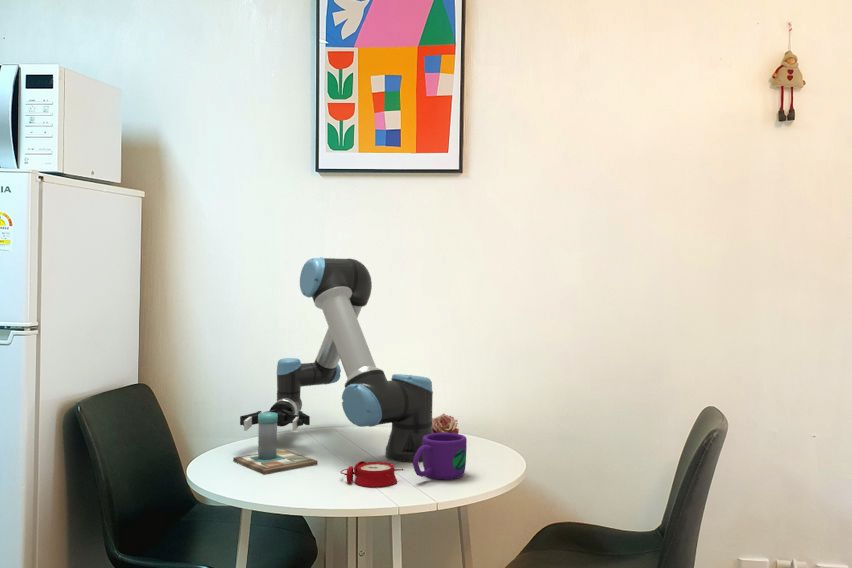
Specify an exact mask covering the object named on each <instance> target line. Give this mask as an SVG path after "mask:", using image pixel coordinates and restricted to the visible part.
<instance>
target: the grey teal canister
mask: <svg viewBox="0 0 852 568" xmlns="http://www.w3.org/2000/svg"><path fill="white" fill-rule="evenodd" d="M277 421H278V413H275V412H267V411H264V412H262V413H259V414H258V422H259V424H258V427H257V428H258V429H257V431H258V437H257V438H258V439H257V443H258V445H257V446H258V447H257V448H258V449H257V454H258V458H259V459H262V460H271V459H275V458H277V450H278V426H277Z"/></svg>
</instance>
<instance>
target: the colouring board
mask: <svg viewBox="0 0 852 568" xmlns="http://www.w3.org/2000/svg"><path fill="white" fill-rule="evenodd" d="M233 461H235V462H234V463H236V462H237V463H236V464H238V463H239V465H240V466H243V467H245V466H246V468H248V469H251V470H253V471H255V472H257V473H260V474H263V476H264V475H265V476H266V475H269V474H274V473H279V472H286V471H290V470H296V469H300V468H301V469H302V468H306V467H312V466H316V465H317V466H318V459H317V460H316V459H314V458H311V457H308V456H305V455H302V454H300V453H296V452H293V451H290V450H287V449H277V458H275V459H271V460H262V459H259V458H258V453H254V454H249V455H248V454H247V455H242V456H235V457H232V462H233Z"/></svg>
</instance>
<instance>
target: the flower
mask: <svg viewBox="0 0 852 568" xmlns="http://www.w3.org/2000/svg"><path fill="white" fill-rule="evenodd" d="M432 430H433V433H456V434H460V433H459V431H460V429H459V428H458V419H455V418H454V416H452V415H447V414H445V413H443V414H440V415H438V416H436V417H434V418H433V417H432Z"/></svg>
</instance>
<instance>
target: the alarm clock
mask: <svg viewBox="0 0 852 568" xmlns="http://www.w3.org/2000/svg"><path fill="white" fill-rule="evenodd" d="M344 471H346V472H344ZM396 471H404V468H401V469H400V468H395V466H394V464H393V463H390V462H384V461H371V462H370V461H369V462H366V461H362V460H361V461H358V462H357V463H356V464H355V465H354V466H351V465H350V466H348V467H347V468H345V469H342V470H340V474H341V475H344V476H345V477H346V482H347V483H348V485H349V484H351V485H352V484H353V481H354V484H355V485H358V486H360V487H366V488H383V487H388V486H389V487H390V486H392V485H397V484H398V483H397V482H398V481H397V477H396V474H395V472H396ZM354 476H355V479H354Z"/></svg>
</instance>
